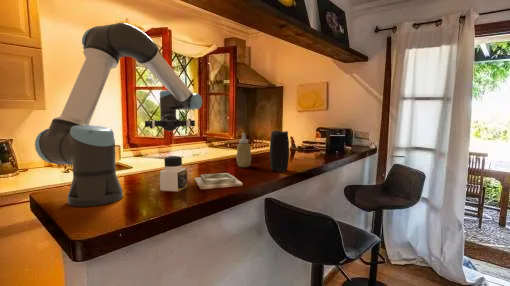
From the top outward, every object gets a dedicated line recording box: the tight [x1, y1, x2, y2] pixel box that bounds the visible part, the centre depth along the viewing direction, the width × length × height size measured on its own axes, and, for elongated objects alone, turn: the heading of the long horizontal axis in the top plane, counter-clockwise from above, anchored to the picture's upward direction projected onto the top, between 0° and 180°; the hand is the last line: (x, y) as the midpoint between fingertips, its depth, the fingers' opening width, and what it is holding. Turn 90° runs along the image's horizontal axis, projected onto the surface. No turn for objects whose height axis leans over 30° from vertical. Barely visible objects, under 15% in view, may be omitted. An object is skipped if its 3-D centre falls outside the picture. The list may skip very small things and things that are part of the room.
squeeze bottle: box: [236, 132, 252, 168], centre depth 147 cm, size 8×8×18 cm
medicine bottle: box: [159, 155, 188, 192], centre depth 101 cm, size 7×7×12 cm
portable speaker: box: [269, 130, 290, 173], centre depth 135 cm, size 9×9×20 cm
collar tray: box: [194, 172, 243, 190], centre depth 111 cm, size 16×16×2 cm
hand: (171, 124), depth 110 cm, fingers open, 13 cm apart
